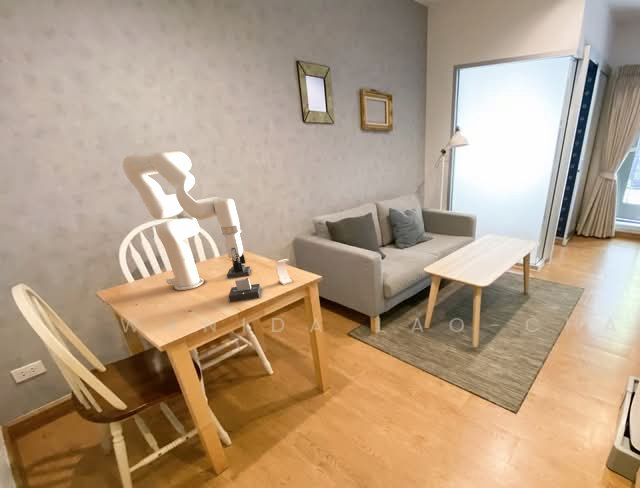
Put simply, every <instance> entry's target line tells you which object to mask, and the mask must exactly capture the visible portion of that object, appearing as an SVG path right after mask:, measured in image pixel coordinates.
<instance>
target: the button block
mask: <svg viewBox="0 0 640 488" xmlns="http://www.w3.org/2000/svg"><path fill="white" fill-rule="evenodd" d="M242 268H243V271H242V272H235V271H234V267H233V266H231V267H230V268H229V269H228V271H227V274H226V276H227V279H233V278H240V277H250V273H251V271H252V269H251V266H246V265H245V264H242Z"/></svg>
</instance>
